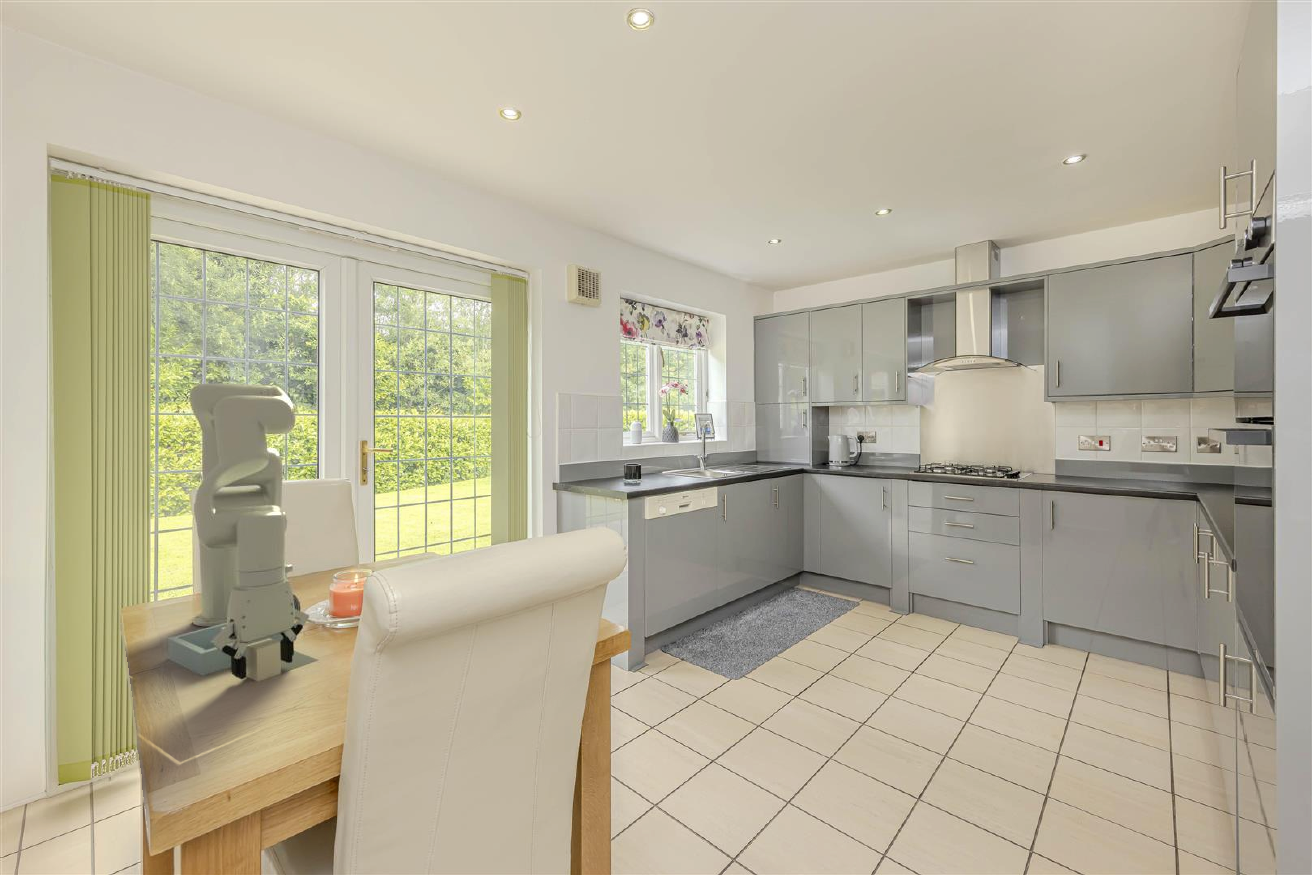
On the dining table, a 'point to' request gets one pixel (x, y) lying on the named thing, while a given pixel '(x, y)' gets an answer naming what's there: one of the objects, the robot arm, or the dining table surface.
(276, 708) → the dining table surface
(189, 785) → the dining table surface
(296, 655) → the dark mat
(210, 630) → the blue bin
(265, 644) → the stone
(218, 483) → the robot arm
